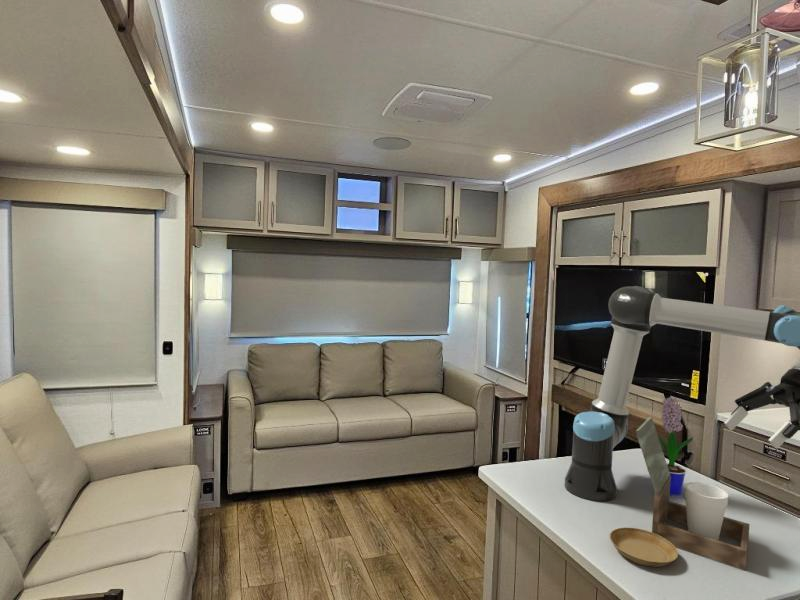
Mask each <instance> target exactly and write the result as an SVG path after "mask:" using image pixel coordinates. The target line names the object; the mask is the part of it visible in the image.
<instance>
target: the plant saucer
mask: <svg viewBox="0 0 800 600" xmlns="http://www.w3.org/2000/svg"><path fill="white" fill-rule="evenodd" d="M609 539H610V541H611V543H612V545H613V546H614V548H615V549H616V550H617V551H618V552H619V554H621V555H622V556H623V557H625V559H627V560H629V561H632V562H633V563H635V564H638V565H641V566H644V567H650V568H651V567H653V568H658V567H664V566H666V565H670V564H671V563H672V562H673V561H675V560H677V559H678V557H679V556H678V555H679V551H678V548H676V547H675V546H674V545H673V544H672V543H671V542H669V541H668V540H666V539H665V538H663V537H661V536H659V535H657V534H655V533H652V531H648V530H647V529H646V530H645V529H642V528H638V527H636V528H635V527H626V526H625V527H618V528H615V529H613V530H612V531H610V533H609Z"/></svg>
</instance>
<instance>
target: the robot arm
mask: <svg viewBox="0 0 800 600" xmlns="http://www.w3.org/2000/svg"><path fill="white" fill-rule="evenodd" d="M607 306H608V311H609V314H610V315H611V322H610V324H611V325H610V326H612V328H613V335H612V339H611V343H610V346H609V347H610V348H609V351H608V355H607V360H606V365H605V368H604V372H603V376H602V381H601V385H600V389H599V393H598V397H597V398H596V399H593V400H592V401H591V405H590V408H589V411H584V412H583V411H582V412H580V413H578V414H577V415H576V416H574V420H573V423H572V424H573V425H572V429H573V432H572V449H571V463H570V464H569V468H568V470H567V473H566V474H565V477H564V488H565V489H566V490H567V491H568V492H569V493H570V494H573V495H575V496H577V497H580V498H582V499H586V500H590V501H597V502H599V501H600V502H602V501H603V502H605V501H611V500H614V499H615V498H617V491H618V489H617V484H616V481H615V477H614V473H613V469H612V466H613V452H614V448H615V447H617V445H618V444H620V443H621V442H622V441H623V440H624V439H625V438H626V436H627V433H628V430H629V424H628V419H629V415H630V410H629V408H628V407H627V403H628V399H629V394H630V390H631V386H632V382H633V378H634V374H635V370H636V367H637V366H636V365H637V362H638V358H639V354H640V351H641V346H642V342H643V338H644V336H646V335H647V334H650V331H651V328H652V327H653V326H655V325H657V324H659V325H665V326H670V327H677V328H682V329H683V328H684V329H690V330H696V331H703V332H710V333H714V334H723V335H728V336H735V337H741V338H745V339H754V340H758V341H759V340H761V341H766V342H770V343H777V344H783V345H785V346H788V347H795V348H797V349H798V350H800V313H799V312H797V310H795V309H793V308H791V307H789V306H787V305H785V304H781V305H779V306H778V307H776V308H775V309H774V310H773V311H765V310H760V309H759V310H758V309H751V308H745V307H744V308H743V307H736V306H735V307H734V306H728V305H721V304H720V305H719V304H713V303H704V302H698V301H690V300H683V299H674V298H669V297H668V298H666V297H662V296H661V295H660V294H659V293H656V292H655V293H654V292H652V291H651V290H650V289H649V288H646V287H642V286H637V285H634V286H629V285H628V286H623V287H620V288H618V289H617V290H615V291H614V292H613V293H612V294H611V296H610V297H609V299H608V305H607ZM734 403H735V404H736V406H737V407H736V408H735V409H734V410H733V411H731V413H730V415H729V417H727V418H726V420H725V421H724V422H723V424H724V425H725V426H726V427H727V428H728V430H729V431H734V429H735V428H736V427H737V426H738V425H739V424H740V423H741V422H742V421H743V420H744V419H745V418H746V417H747V416H748V415H749V412H750V411H753V410H757V409H759V408H762V407H766V406H768V405H777V404H778V405H781V406H785V407H787V408H788V409H789V417H790V419H789V421H785V422H784V423H783V424H781V426H780V428H778V430H777V431H776V432H774V434H772V436H771V437H770V438H769V439H768V442H769V443H770V444H771V446H773V448H775V449H779V448H780V447H781V446H782V445H783V444H784V443H785V442H786V441H787V440H788V439H792V437H793V436H795V434H796V433H797V432H799V431H800V358H799V359H798V360H797V361H796V362H795V363H794V364H792V366H791V368H790V369H788V370H787V371H786V372H785V373H784V374H783V375H782V376H781V378H780V383H778V384H777V385H773V384H772V383H771V382H769V381H767V382H764V383H763V384H762V385H761V386H759V387H758V388H756V389H754V390H752V391H750V392H748V393H746V394H744V395H742V396H740V397H738V398H736V399H735V400H734Z"/></svg>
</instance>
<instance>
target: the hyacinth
mask: <svg viewBox="0 0 800 600" xmlns="http://www.w3.org/2000/svg"><path fill="white" fill-rule="evenodd" d="M661 405H662V407H661V411H662V412H661V420H662V427H663V428H664V430H665V432H667V433H669V434H668V439H667V440H668V441H667V442H666V441H665V440H664V439H663V438H662V437H661V436H659V435H658V438H659V441H660V444H661V445H662V446H663V448H664V449H665V452H666V456H667V457H668V463H667V462H666V463H667V466H668V469H669V472H670V475H671V482H670V495H671V496H677V495H678V496H680V495H681V494H682V489H683V486H684V483H685V482H684V481H685V476H686V473H687V471H686V470H687V469H685V468H683V467H682V466H680V465H676V463H675V462H676V459H677V458H678V455H679V453H680V452H681V450H682V449H683V448H684V447H686V446H687V445H688V444H689V443H690V442H692V441H693V440H694V437H690V438H689V439H687V440H684V441H683V442H682V443H680V444H679V445H677V439H676V435H675V432H676V431H677V432H680V431H682V430H683V427H684V425H683V424H682V422H681V420H682V415H681V413H682V412H681V411H682V406H681V404H680V403H679V400H677V398H676V397H675V398H674V397H672V396H670V397H667V398H664V399H663V400H662V404H661Z"/></svg>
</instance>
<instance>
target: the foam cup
mask: <svg viewBox="0 0 800 600" xmlns="http://www.w3.org/2000/svg"><path fill="white" fill-rule="evenodd" d="M683 496H684V499H685V506H686V513H687V524H686V525H687V531H690V532H693V533H696V534H699V535H702V536H706V537H709V538H712V539H715V540H718V541H719V539H720V536H721V535H720V531H721V527H722V522H723V518H724V517H725V513H726V510H727V507H728V503H729V493H728V492H726V490H724V489H722V488H719V487H717V486H715V485H712V484H708V483H703V482H699V481H698V482H697V481H695V482H694V481H693V482H692V481H690V482H687V483H685V484H684V493H683Z"/></svg>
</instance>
